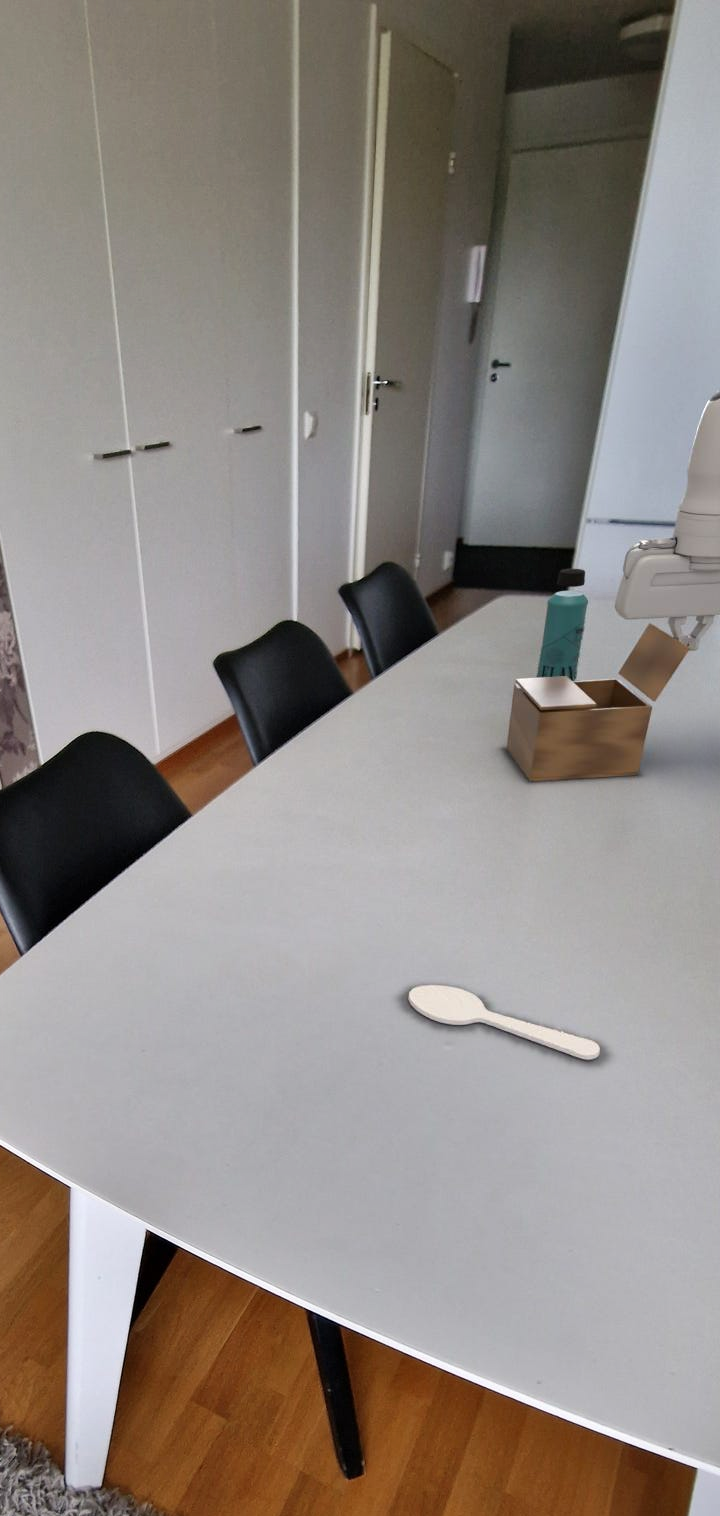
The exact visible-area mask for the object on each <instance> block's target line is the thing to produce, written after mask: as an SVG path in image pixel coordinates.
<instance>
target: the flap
mask: <svg viewBox="0 0 720 1516" xmlns="http://www.w3.org/2000/svg"><path fill="white" fill-rule="evenodd" d="M689 650H690V648H689V647H688V646H686V645H685V644H683V643H681V642H680V641H678V640H677V639H675V638H673V635H670V634H669V633H667V632H665V631H664V630H662V629H661V628H659V627H657V626H656V625H654V624H653V623H651V622H649V623H648V624H647V626H646V628H645V630H644V631H643V633H642V634H641V636H640V637H639V639H638V641H637V642H636V644H635V645H634V647H633V648H632V650H631V652H630V653H629V655H628V657H627V658H626V660H625V661H624V663H623V665H622V666H621V668H620V669H619V670H618V675H620V676H621V677H622V678H624V680H626V681H627V682H628V683H629V684H631V685H632V686H634V687H635V688H636V689H637V690H639V691H640V692H641V694H643V695H644V696H645V697H647V698H649V699H650V700H651V701H652V702H653V703H654V702H656V701H657V699H658V698H659V696H660V695H661V694H662V692H663V691H664V689H665V688H666V686H667V684H668V683H669V681H670V680H671V679H672V677H673V675H674V674H675V672H676V671H677V669H678V668H679V667H680V665H681V663H682V662H683V660H684V659H685V657H686V656H687V654H688V653H689V652H690V651H689Z"/></svg>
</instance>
